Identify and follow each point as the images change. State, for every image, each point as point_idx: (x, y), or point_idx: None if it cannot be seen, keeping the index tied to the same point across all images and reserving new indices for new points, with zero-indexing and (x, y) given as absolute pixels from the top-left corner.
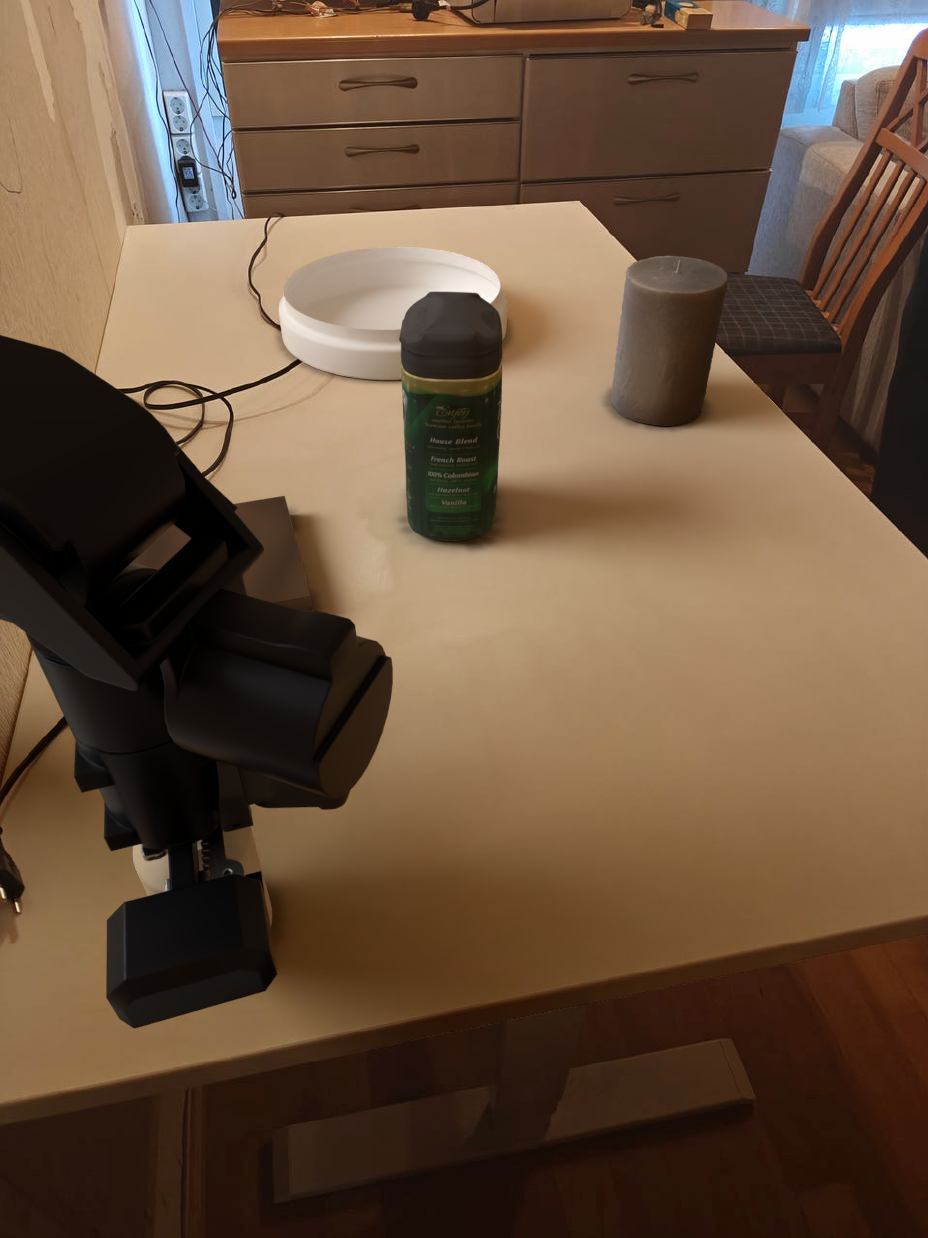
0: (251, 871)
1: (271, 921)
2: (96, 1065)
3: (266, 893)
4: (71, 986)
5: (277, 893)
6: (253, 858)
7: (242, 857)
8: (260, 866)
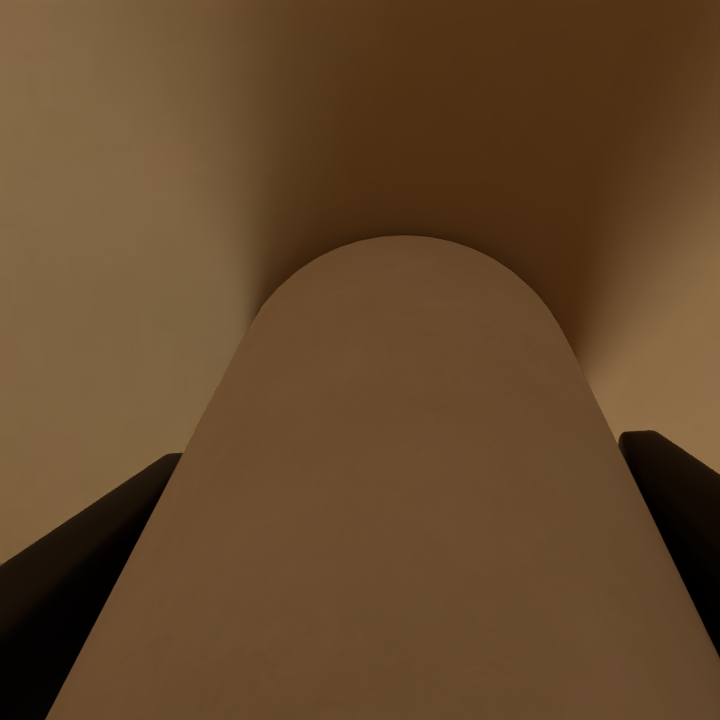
0: (576, 589)
1: (434, 241)
2: None
3: (412, 302)
4: None
5: (305, 211)
6: (493, 606)
7: None
8: (374, 403)
